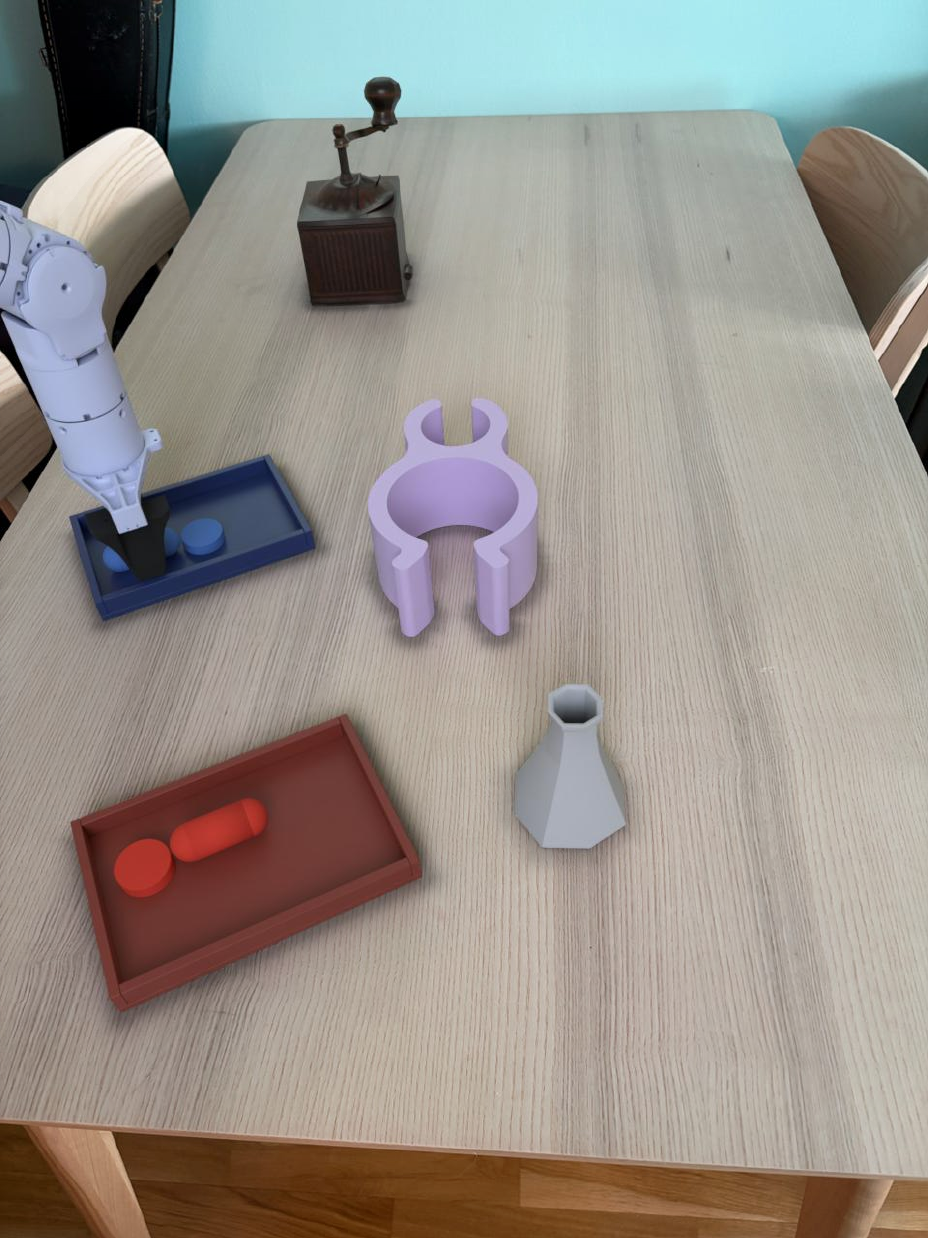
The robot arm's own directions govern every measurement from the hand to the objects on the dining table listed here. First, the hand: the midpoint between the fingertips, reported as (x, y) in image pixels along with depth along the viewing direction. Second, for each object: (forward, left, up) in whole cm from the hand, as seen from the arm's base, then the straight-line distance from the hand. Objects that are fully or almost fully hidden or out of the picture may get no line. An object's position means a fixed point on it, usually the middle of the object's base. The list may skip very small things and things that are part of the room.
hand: (141, 544), depth 76 cm
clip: (+23, -9, -2) cm, 25 cm away
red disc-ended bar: (-3, -27, -2) cm, 28 cm away
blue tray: (+4, +1, -2) cm, 5 cm away
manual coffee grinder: (+33, +37, -2) cm, 49 cm away
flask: (+19, -34, -2) cm, 39 cm away
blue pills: (+2, 0, -2) cm, 3 cm away
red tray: (0, -29, -2) cm, 29 cm away
